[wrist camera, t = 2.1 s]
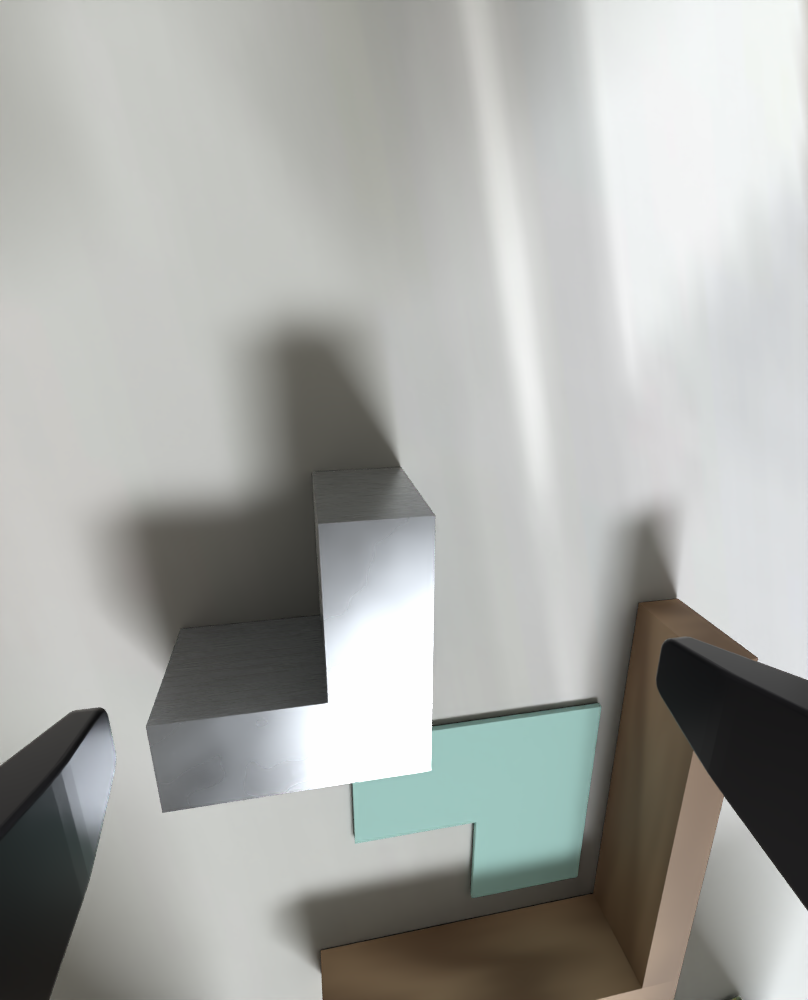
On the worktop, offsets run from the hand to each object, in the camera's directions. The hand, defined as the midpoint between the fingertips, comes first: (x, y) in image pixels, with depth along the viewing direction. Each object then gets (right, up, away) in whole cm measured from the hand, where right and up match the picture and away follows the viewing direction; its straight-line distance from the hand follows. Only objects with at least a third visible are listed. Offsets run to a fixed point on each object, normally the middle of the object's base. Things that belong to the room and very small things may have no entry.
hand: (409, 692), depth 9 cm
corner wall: (+3, -8, +11) cm, 14 cm away
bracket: (-3, +1, +7) cm, 8 cm away
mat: (+3, -9, +12) cm, 15 cm away
